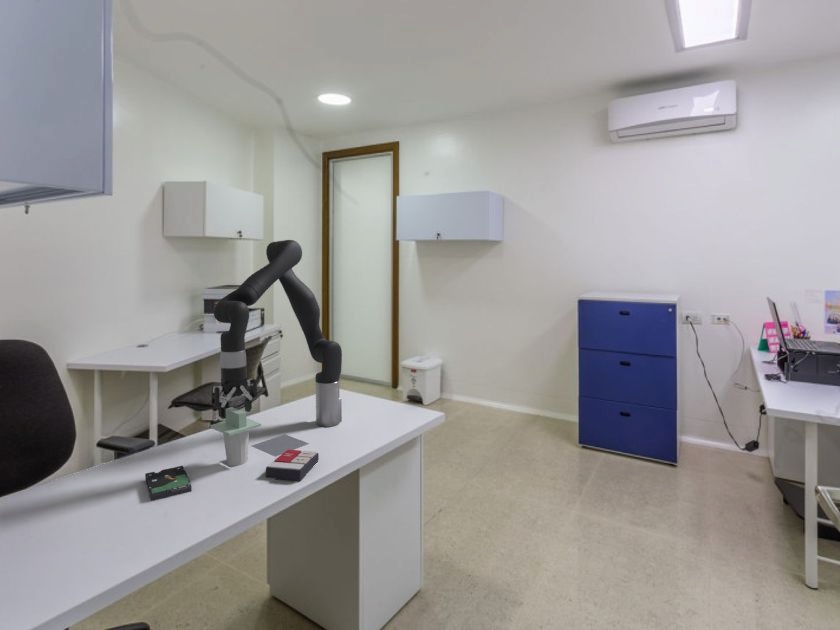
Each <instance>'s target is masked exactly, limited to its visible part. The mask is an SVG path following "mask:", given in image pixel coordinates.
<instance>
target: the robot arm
mask: <svg viewBox="0 0 840 630" xmlns="http://www.w3.org/2000/svg"><path fill="white" fill-rule="evenodd" d="M265 253H266V258H267V261H268V263H267V264H266V265H265V266H263V267H262V268H259V269H258V270H256V271H255V272H254V273H252V274H251V275H249V276H248V277H247V278H246V279H245V280H244V281H243V282H242V283H241V284H240V285H239V287H238V288H237V289H235V290H233V291H231V292H230V293H228V294H226V295H225V296H223V297H222V298H221V299H220V300H219V301H218V302H216V304H215V306H214V309H213V316H214V318H215V321H218V322H219V323H224V324H230V327H229V330H227V331H223V332H222V333H221V334H220V338H219V339H220V379H221V385H219V386H215V385H212V386H211V397H210V398H211V406H213V407H217V409H218V410H217V411H218V417H219V418H220V419H222V420H225V418H226V409H227V408H226V404H227V403H228V402H229V401H230V400H231V398H236V397H240V396H242V397H243V398H244V412H246V413H249V412H251V410H252V409H253V405H252V400H253V399H254V398H256V397H257V396H258V390H257V389H258V387H257V380H256V379H255V378H252V377H249V378H248V373H247V372H248V369H247V366H248V365H247V353H246V340H245V339H246V337H245V336H246V333H247V328H248V324H249V320H250V310H249V306H250V307H251V306H253V305H255V304H256V303H257V302H258V301H259V300H260V298H261V297H262V296H263V295H264V294H265V293H266V292H267V290H268V289H270V288H271V286H273V285H274V283H275V282H277V281H278V282H280V284H281V286H282V288H283V290H284V293H285V295H286V297H287V299H288V300H289V303H290V307H291V308H292V311H293V313H294V316H295V318H296V319H297V321H298V323H299V326H300V329H301V330H302V332H303V335H304V338H305V340H306V344H307V346H308V351H309V353H310V355H311V358H312V359H313V360H314V361H315V362H316V363H320V364H322V365H321V366H322V367H321V371H318V372H317V373H316V374H315V377H314V378H315V421H316V425H317V426H319V427H324V428H326V427H327V428H328V427H335V426H338V425H339V424H340V423H341V422H343V421H342V419H343V417H342V415H343V413H342V412H343V411H342V407H343V406H342V404H343V403H342V397H340V376H341V373H342V366H343V365H342V363H343V362H342V361H343V359H342V358H343V353H342V352H343V351H342V347H341V345H340V343H338V342H337V341H334V340H330V339H329V340H328V339H326V337H325V336H324V334H323V331H322V330H321V327H320V318H321V308H320V305H319V303H318V301H317V298H316V296H315V293H313V291H312V290H311V289H310V288H309V287H308V285H306V284H305V283H304V282H303V281H302V280H301V279H300V278H299V277H298V275H296V273H295V272H294V270H293V268H294V267H295V266H297V265H298V264H299V263H300V261H301V260H302V256H303V249H302V246H301V245H300V244H299V242H298V241H296V240H293V239H284V240H277V241H272V242H270V243H268V245H267V246H266V251H265ZM247 378H248V379H247ZM247 386H248V390H247V389H246V388H247ZM221 391H222V392H221ZM220 394H221V395H220Z"/></svg>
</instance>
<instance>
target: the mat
mask: <svg viewBox="0 0 840 630" xmlns="http://www.w3.org/2000/svg"><path fill="white" fill-rule="evenodd" d="M307 445H310V443H309V442H306V441H303V440H301V439H299V438H295V437H293V436H291V435H288V434H282V435H278V436H275V437H273V438H269V439H267V440H264V441H261V442H258V443H254V444H253V445H251V447H253V448H255V449H257V450H259V451H262V452H264V453H266V454H269V455H270V456H273V457H276V458H277V457H279V456H281V455H282V454H283V453H284V452H286V451H287V450H298V449H300V448H302V447H305V446H307Z"/></svg>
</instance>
